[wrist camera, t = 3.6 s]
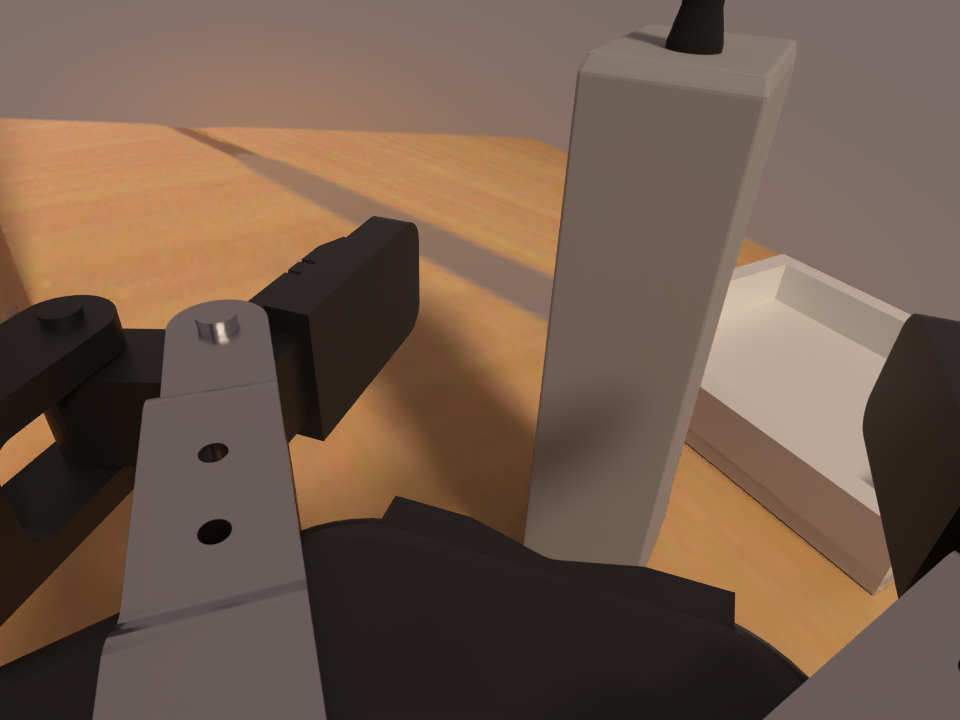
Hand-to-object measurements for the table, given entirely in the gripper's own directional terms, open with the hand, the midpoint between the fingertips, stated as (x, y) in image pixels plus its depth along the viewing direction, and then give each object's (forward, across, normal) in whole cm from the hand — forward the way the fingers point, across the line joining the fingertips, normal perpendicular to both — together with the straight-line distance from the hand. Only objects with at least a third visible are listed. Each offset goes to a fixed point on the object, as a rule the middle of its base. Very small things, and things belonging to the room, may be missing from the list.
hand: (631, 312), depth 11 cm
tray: (+18, -8, +14) cm, 24 cm away
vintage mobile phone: (+6, 0, +14) cm, 15 cm away
